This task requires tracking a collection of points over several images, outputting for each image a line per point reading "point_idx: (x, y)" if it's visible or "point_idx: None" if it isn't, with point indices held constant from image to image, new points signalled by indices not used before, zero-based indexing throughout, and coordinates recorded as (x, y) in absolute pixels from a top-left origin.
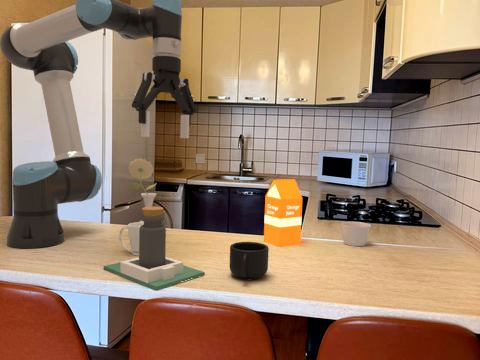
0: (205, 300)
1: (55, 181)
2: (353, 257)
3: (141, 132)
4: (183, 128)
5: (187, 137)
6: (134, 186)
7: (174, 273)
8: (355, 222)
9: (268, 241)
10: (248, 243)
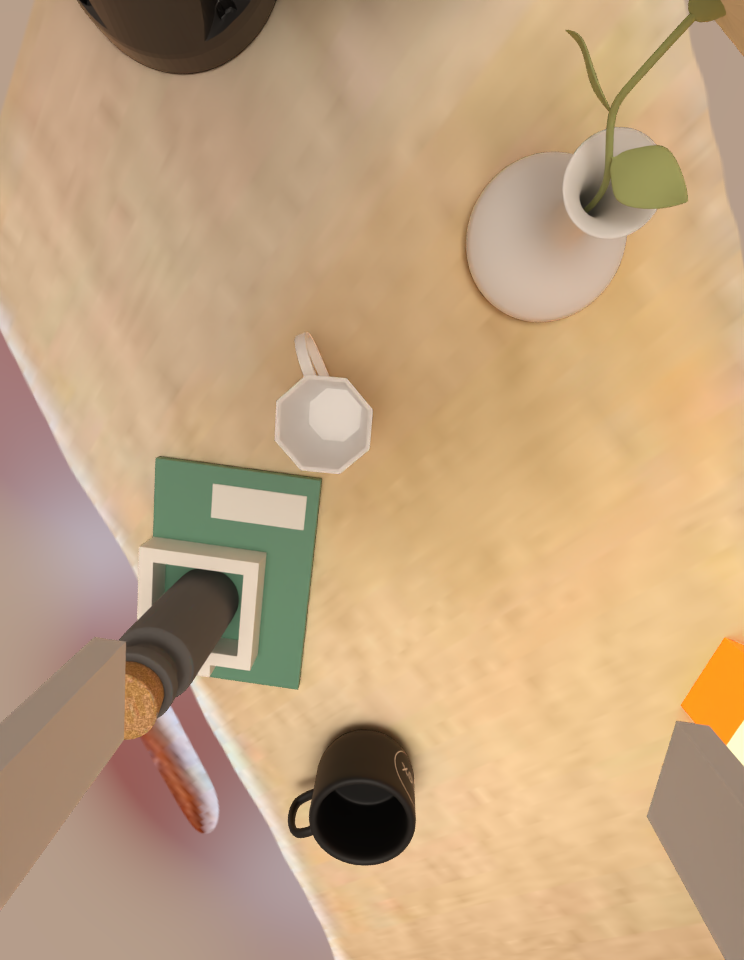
0: (183, 765)
1: None
2: (682, 896)
3: (65, 677)
4: (733, 880)
5: (660, 826)
6: (587, 71)
7: (214, 667)
8: None
9: (714, 662)
10: (399, 800)
